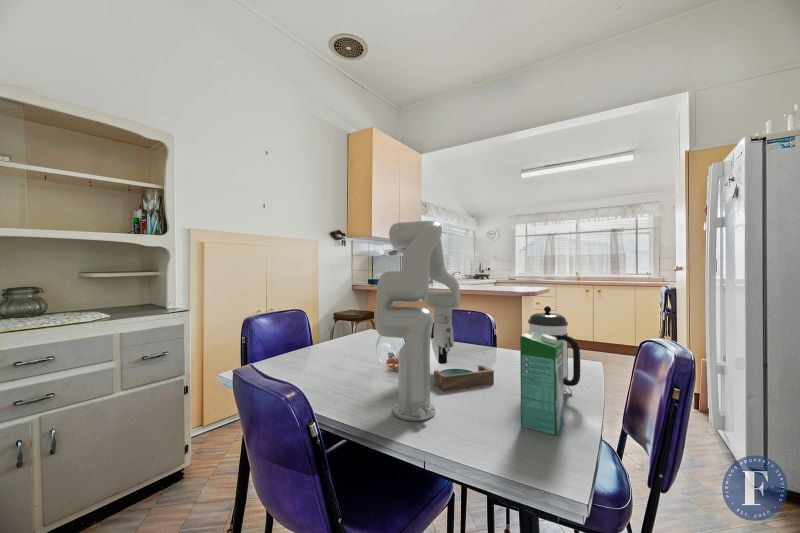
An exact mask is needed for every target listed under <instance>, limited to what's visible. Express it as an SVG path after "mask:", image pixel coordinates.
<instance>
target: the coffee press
mask: <svg viewBox="0 0 800 533" xmlns="http://www.w3.org/2000/svg"><path fill="white" fill-rule="evenodd" d="M551 310H552V309H551V307H550V306H545V307H544V308H543V311H544V312H538V313H533V314H531V316H530V317H529V318H528V320H527V323H528V331H533V332H536V333H539V334H547V335H551V336H553V337H555V338H557V340H559V341H562V342H563V393H566V394H567V396H572V395H573V391H572V389H571V388H570V387H575V386H577V385H578V384H579V382H580V380H581V350H580V347H579V344H578V342H577V340H576V339H575V338H573V337H572V336H569V335H568V332H567V331H568V329H567V328H568V325H569V322H568V321H567V319H566V317H565V316H563V315H561V314H559V313H552V312H551ZM569 345H570V346H571V348H572V354H573V356H572V361H573V365H572V367H573V369H572V370H573V371H572V372H573V373H572V374H573V376H572V379H570V380H569V363H568V362H569V360H568V359H569V357H568V356H569V355H568V354H569V348H568V346H569ZM567 389H568V390H569V391H570V393H569V392H567Z"/></svg>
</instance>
